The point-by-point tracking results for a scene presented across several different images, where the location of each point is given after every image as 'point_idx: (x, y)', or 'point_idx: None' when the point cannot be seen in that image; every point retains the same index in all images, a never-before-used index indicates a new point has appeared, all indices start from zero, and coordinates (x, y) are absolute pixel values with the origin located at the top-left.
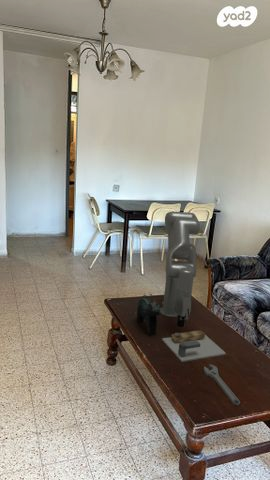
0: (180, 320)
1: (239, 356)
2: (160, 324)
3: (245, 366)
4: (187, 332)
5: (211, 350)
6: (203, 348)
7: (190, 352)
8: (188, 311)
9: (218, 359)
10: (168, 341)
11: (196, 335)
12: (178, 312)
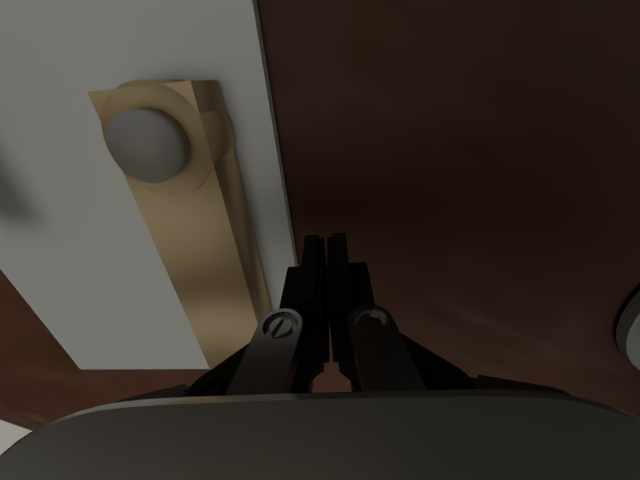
0: (299, 311)
1: (88, 398)
2: (603, 106)
3: (2, 381)
4: (238, 278)
5: (88, 321)
6: (102, 290)
7: (7, 174)
8: None
9: (21, 311)
10: (172, 20)
11: (190, 322)
12: (214, 474)
